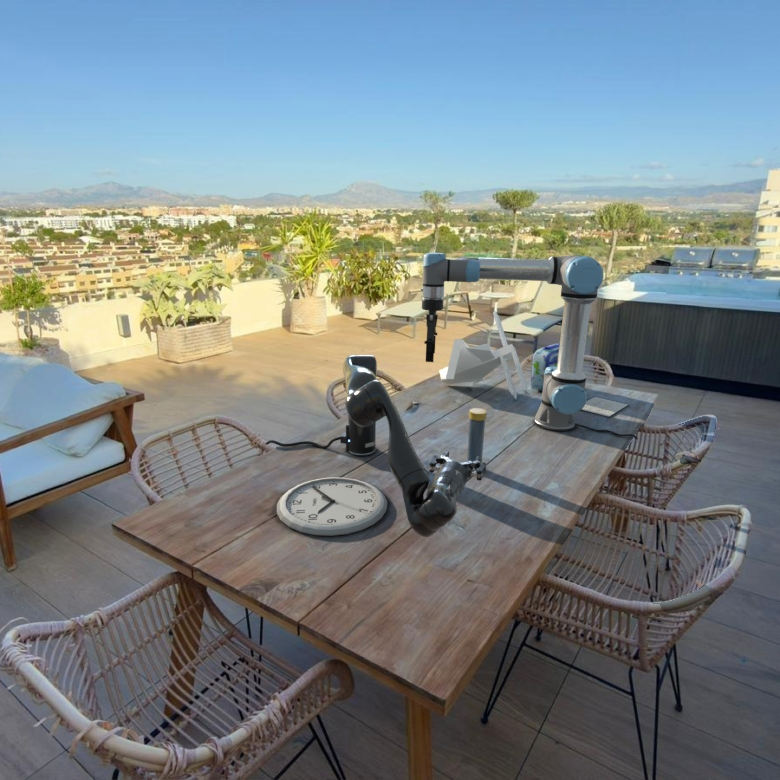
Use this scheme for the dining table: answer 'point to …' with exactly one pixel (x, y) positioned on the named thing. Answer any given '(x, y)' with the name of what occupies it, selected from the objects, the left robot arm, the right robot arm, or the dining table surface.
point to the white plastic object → (482, 362)
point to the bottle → (475, 440)
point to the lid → (477, 414)
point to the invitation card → (603, 406)
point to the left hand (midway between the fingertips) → (462, 456)
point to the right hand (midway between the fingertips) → (430, 357)
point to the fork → (413, 403)
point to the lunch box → (543, 364)
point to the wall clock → (331, 506)
